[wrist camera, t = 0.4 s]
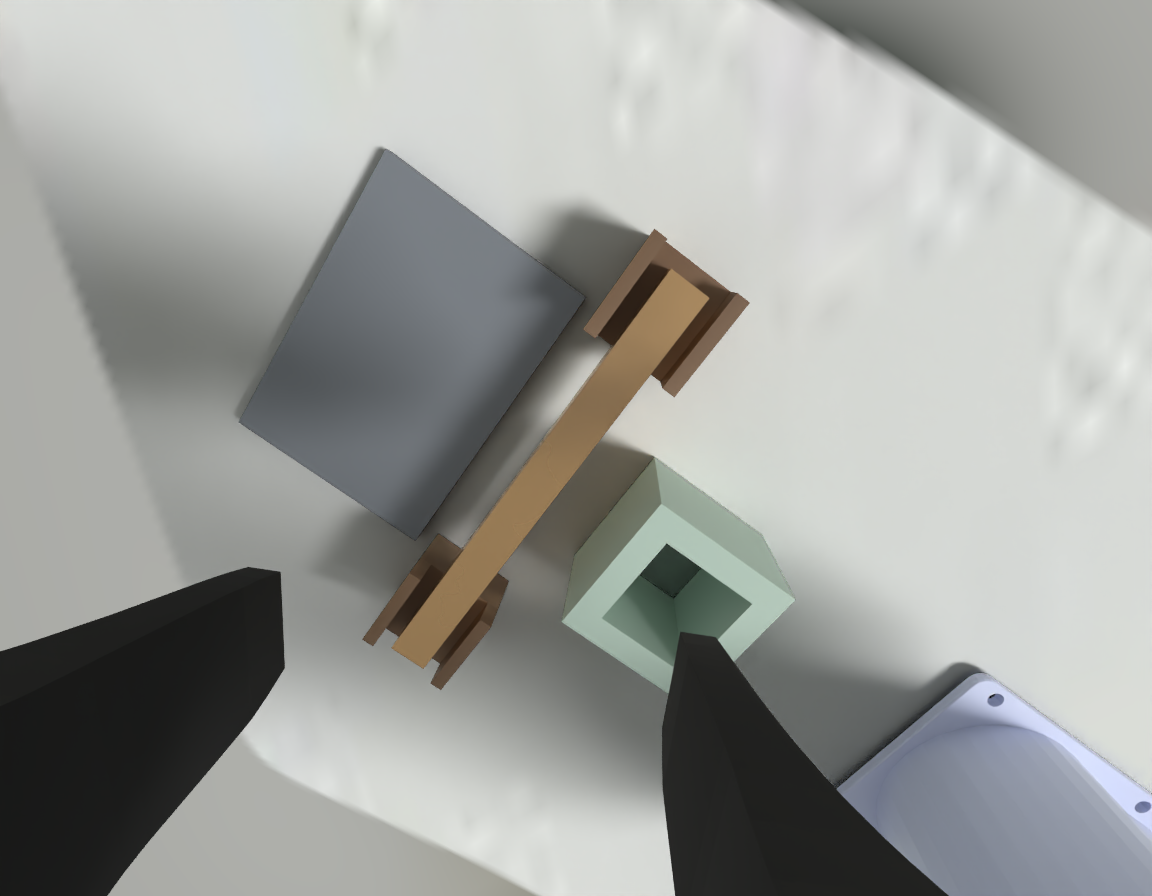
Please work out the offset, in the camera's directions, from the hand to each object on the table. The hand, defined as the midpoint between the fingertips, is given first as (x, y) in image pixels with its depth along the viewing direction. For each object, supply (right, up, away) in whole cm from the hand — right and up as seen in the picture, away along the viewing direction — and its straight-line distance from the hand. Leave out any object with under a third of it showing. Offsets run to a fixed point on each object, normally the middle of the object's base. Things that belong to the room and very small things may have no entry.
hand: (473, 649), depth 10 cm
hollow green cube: (+5, 0, +9) cm, 11 cm away
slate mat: (-4, +6, +8) cm, 11 cm away
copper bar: (+1, +3, +7) cm, 8 cm away
